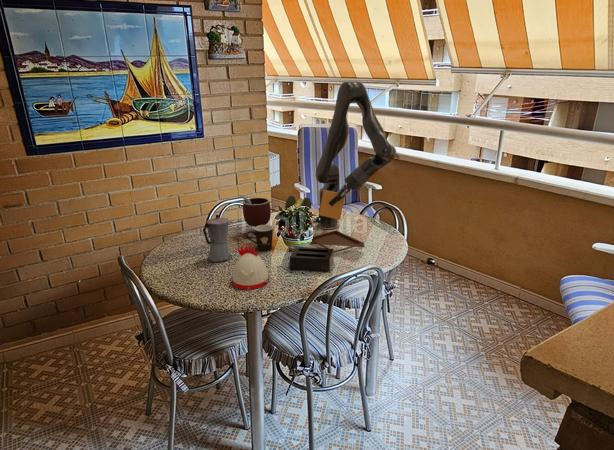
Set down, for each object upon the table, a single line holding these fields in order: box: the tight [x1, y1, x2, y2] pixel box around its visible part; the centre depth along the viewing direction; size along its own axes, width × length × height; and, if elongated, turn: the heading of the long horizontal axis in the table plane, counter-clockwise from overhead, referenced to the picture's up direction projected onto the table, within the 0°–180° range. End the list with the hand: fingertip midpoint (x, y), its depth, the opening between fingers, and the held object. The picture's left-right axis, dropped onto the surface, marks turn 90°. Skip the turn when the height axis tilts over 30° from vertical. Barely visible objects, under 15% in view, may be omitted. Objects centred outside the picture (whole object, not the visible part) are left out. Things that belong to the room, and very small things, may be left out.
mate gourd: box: [239, 194, 272, 239], centre depth 205 cm, size 16×14×20 cm
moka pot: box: [202, 214, 230, 263], centre depth 175 cm, size 10×15×20 cm, turn 155°
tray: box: [310, 230, 365, 254], centre depth 191 cm, size 21×17×2 cm
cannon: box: [284, 195, 312, 210], centre depth 226 cm, size 25×12×11 cm, turn 152°
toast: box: [318, 190, 346, 220], centre depth 185 cm, size 10×1×12 cm, turn 78°
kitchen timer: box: [231, 244, 270, 290], centre depth 156 cm, size 14×14×15 cm
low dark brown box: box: [289, 246, 335, 273], centre depth 166 cm, size 17×11×7 cm, turn 78°
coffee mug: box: [245, 224, 274, 252], centre depth 188 cm, size 12×9×10 cm
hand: (330, 204), depth 185 cm, fingers closed on toast, 1 cm apart
